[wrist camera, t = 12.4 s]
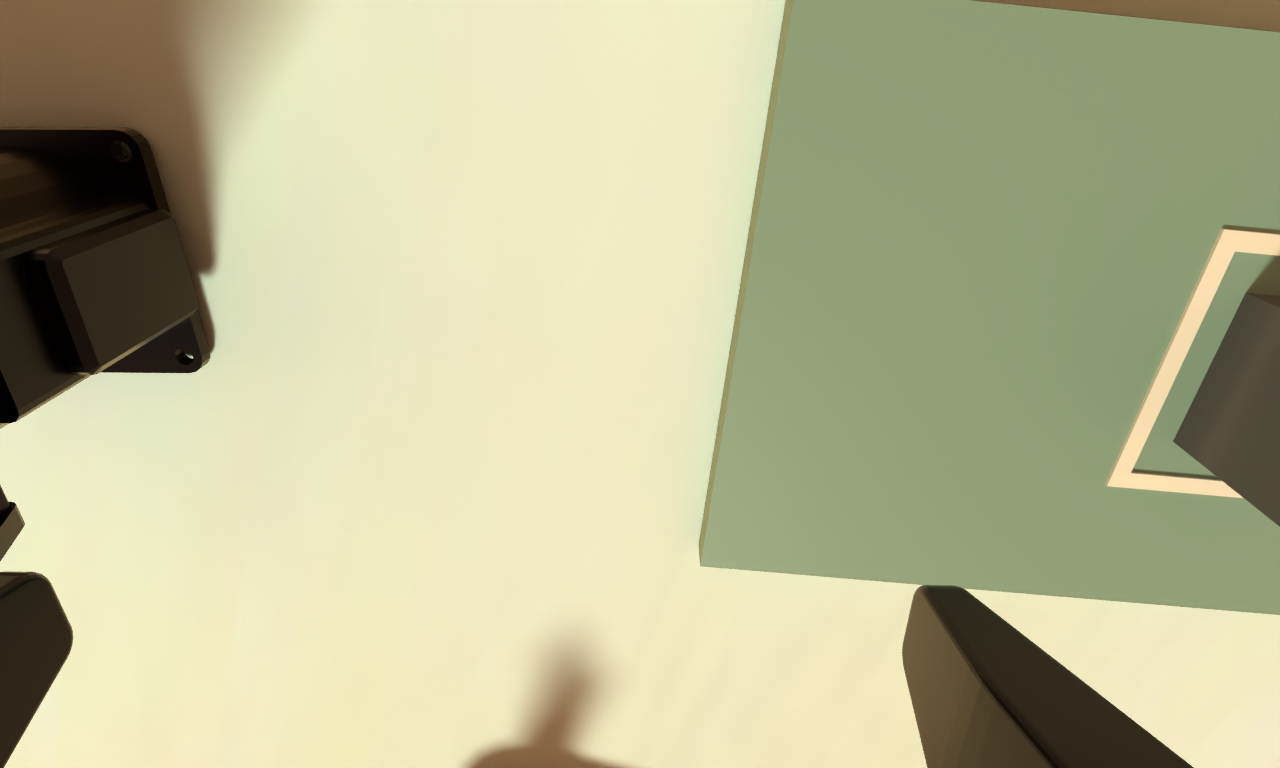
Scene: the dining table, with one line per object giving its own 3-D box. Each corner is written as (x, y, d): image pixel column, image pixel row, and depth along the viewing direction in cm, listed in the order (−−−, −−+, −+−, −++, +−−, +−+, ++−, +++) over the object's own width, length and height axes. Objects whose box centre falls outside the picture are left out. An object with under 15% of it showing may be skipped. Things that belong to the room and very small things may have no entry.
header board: (698, 545, 23) (703, 600, 21) (788, -16, 16) (809, -23, 14) (1298, 596, 24) (1365, 655, 22) (1640, 72, 17) (1792, 79, 14)
